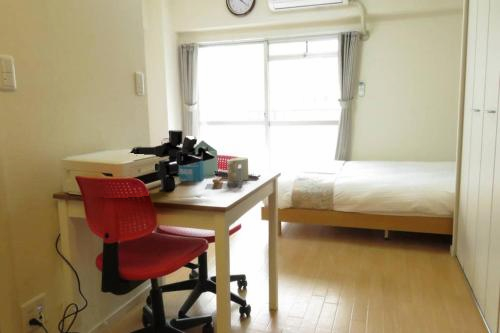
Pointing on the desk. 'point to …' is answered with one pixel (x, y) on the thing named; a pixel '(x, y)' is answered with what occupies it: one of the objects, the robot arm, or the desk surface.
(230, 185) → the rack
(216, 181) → the offcut stack
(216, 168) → the grey-green peaked box
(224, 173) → the desk surface
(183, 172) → the data package
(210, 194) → the desk surface
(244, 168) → the can
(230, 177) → the birch strip
